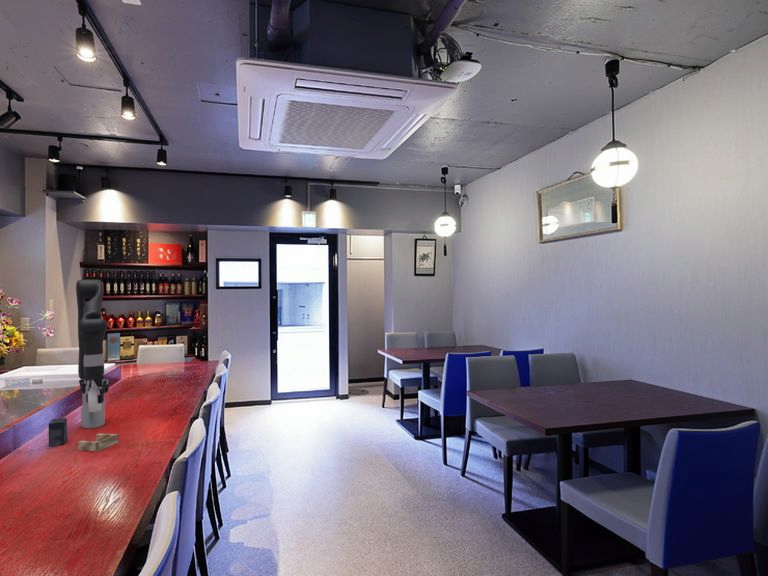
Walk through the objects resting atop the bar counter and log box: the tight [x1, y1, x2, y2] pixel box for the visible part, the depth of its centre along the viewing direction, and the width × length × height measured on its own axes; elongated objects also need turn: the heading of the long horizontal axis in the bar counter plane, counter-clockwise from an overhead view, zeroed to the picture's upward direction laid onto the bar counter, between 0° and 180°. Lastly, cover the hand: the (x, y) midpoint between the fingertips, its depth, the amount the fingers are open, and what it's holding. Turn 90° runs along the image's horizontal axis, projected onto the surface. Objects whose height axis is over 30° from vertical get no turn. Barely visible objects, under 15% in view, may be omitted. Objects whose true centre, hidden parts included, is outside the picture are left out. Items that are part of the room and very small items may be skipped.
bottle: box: [88, 379, 102, 412], centre depth 196 cm, size 5×5×14 cm
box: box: [48, 417, 68, 448], centre depth 201 cm, size 8×6×11 cm
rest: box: [77, 433, 119, 452], centre depth 196 cm, size 10×11×4 cm
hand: (95, 402), depth 196 cm, fingers closed on bottle, 5 cm apart
